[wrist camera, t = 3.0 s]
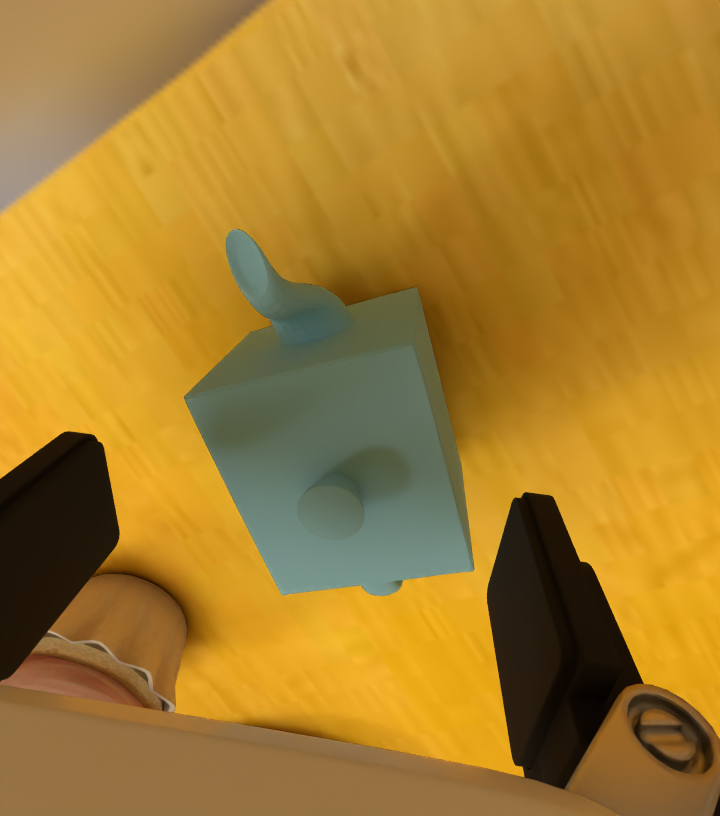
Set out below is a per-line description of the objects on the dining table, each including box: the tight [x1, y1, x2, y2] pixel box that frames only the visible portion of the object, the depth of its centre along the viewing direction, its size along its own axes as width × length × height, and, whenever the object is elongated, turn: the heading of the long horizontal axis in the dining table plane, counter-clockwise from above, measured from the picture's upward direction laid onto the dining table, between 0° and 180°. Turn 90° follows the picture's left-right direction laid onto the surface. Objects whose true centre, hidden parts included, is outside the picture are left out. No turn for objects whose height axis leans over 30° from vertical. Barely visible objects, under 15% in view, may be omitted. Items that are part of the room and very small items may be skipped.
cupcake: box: [0, 574, 187, 713], centre depth 22 cm, size 9×9×10 cm
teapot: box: [184, 229, 474, 596], centre depth 15 cm, size 12×6×8 cm, turn 17°
